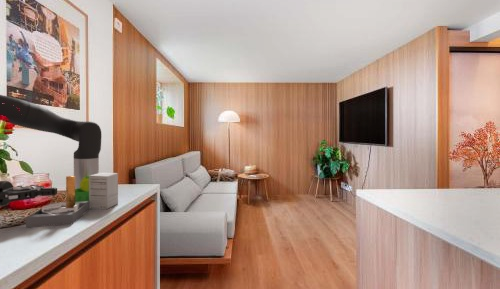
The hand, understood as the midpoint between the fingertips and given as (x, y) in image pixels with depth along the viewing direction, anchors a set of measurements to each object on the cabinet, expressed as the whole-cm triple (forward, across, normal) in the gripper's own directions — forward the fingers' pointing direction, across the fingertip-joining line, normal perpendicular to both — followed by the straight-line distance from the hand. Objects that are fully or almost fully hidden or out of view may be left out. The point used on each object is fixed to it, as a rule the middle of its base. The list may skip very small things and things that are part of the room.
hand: (56, 191), depth 79 cm
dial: (0, +3, +8) cm, 8 cm away
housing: (0, +3, +10) cm, 10 cm away
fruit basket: (+2, +22, +10) cm, 24 cm away
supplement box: (+10, +14, +10) cm, 20 cm away
